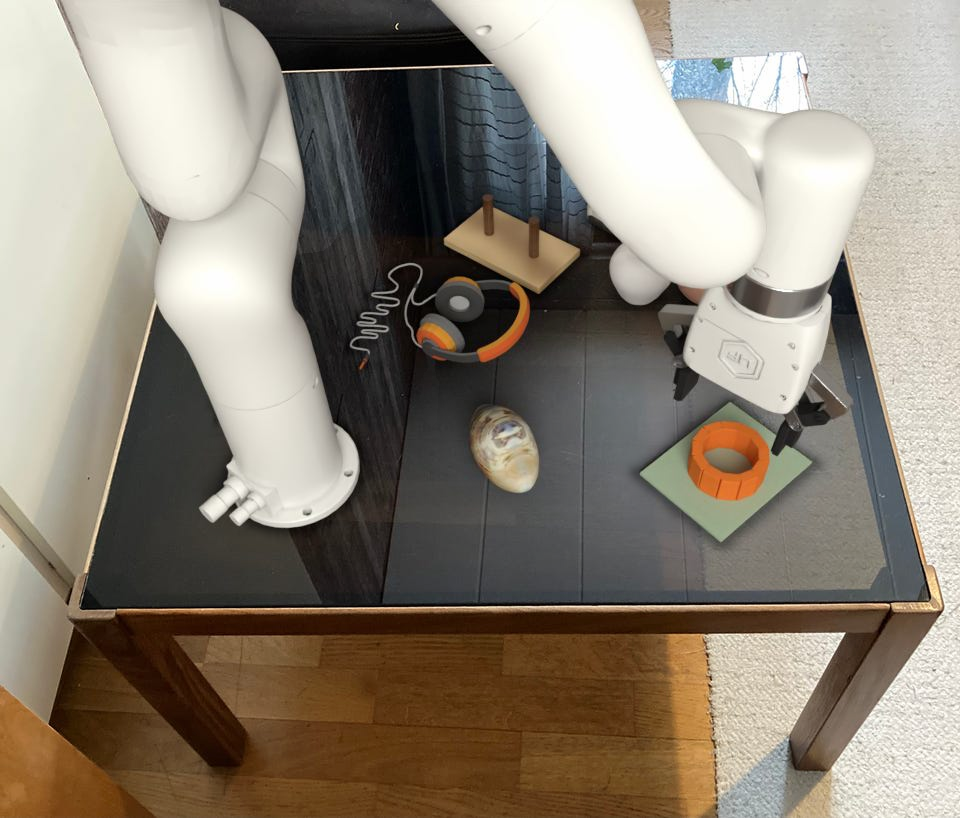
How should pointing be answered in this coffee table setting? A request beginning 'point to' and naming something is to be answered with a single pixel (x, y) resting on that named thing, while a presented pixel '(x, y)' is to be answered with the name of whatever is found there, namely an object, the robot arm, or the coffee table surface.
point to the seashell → (504, 448)
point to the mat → (709, 511)
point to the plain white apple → (635, 278)
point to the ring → (730, 438)
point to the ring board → (512, 247)
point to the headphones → (454, 319)
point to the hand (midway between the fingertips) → (732, 417)
